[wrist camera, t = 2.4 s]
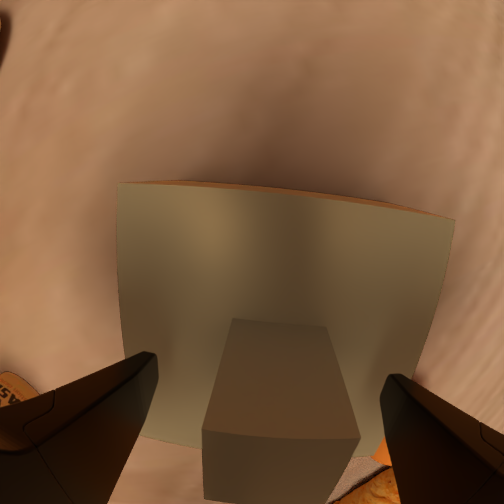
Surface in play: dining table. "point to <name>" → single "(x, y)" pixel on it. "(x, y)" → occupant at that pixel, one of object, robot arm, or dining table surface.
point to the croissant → (375, 491)
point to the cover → (273, 324)
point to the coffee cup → (14, 389)
